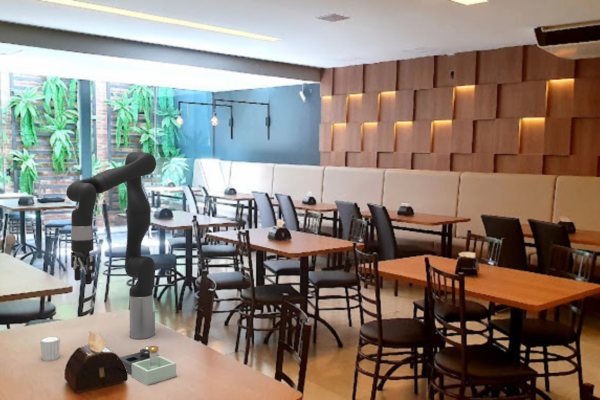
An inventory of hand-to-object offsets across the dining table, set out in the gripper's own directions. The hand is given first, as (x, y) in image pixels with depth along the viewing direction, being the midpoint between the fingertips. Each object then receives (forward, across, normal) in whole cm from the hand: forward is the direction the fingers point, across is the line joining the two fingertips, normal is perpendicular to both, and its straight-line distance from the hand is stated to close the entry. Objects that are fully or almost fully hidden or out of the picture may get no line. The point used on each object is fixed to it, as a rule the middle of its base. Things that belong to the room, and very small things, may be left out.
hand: (83, 282), depth 208 cm
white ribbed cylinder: (+28, +8, +9) cm, 31 cm away
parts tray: (+28, -33, -9) cm, 44 cm away
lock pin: (+27, -33, -9) cm, 44 cm away
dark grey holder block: (+28, -22, -10) cm, 37 cm away
